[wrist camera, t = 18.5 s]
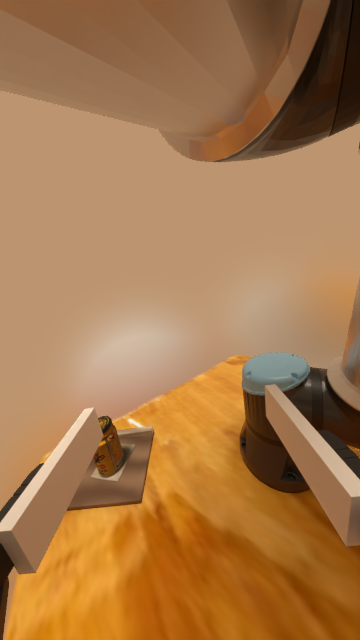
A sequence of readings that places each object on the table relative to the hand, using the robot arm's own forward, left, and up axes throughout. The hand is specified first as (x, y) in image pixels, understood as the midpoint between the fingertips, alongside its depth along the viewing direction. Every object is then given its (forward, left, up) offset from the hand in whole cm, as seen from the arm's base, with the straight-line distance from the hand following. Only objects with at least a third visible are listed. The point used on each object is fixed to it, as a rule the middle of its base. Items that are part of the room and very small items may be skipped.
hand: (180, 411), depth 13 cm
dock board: (+2, -31, -32) cm, 44 cm away
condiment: (+2, -31, -31) cm, 44 cm away
